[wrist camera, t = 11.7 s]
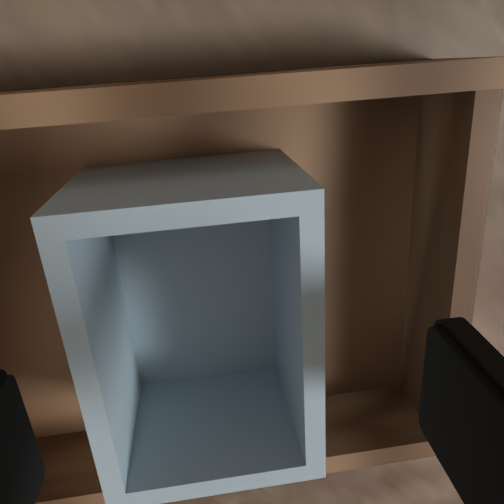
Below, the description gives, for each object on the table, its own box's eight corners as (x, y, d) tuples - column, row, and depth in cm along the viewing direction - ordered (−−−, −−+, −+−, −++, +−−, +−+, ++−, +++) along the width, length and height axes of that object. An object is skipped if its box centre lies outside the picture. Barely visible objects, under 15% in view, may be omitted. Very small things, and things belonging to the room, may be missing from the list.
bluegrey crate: (279, 149, 16) (324, 188, 10) (289, 367, 19) (325, 477, 14) (83, 166, 15) (29, 217, 10) (129, 389, 18) (107, 512, 13)
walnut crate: (433, 58, 16) (507, 56, 12) (408, 386, 21) (454, 453, 17) (-120, 100, 14) (-229, 112, 10) (4, 444, 20) (-39, 531, 16)
